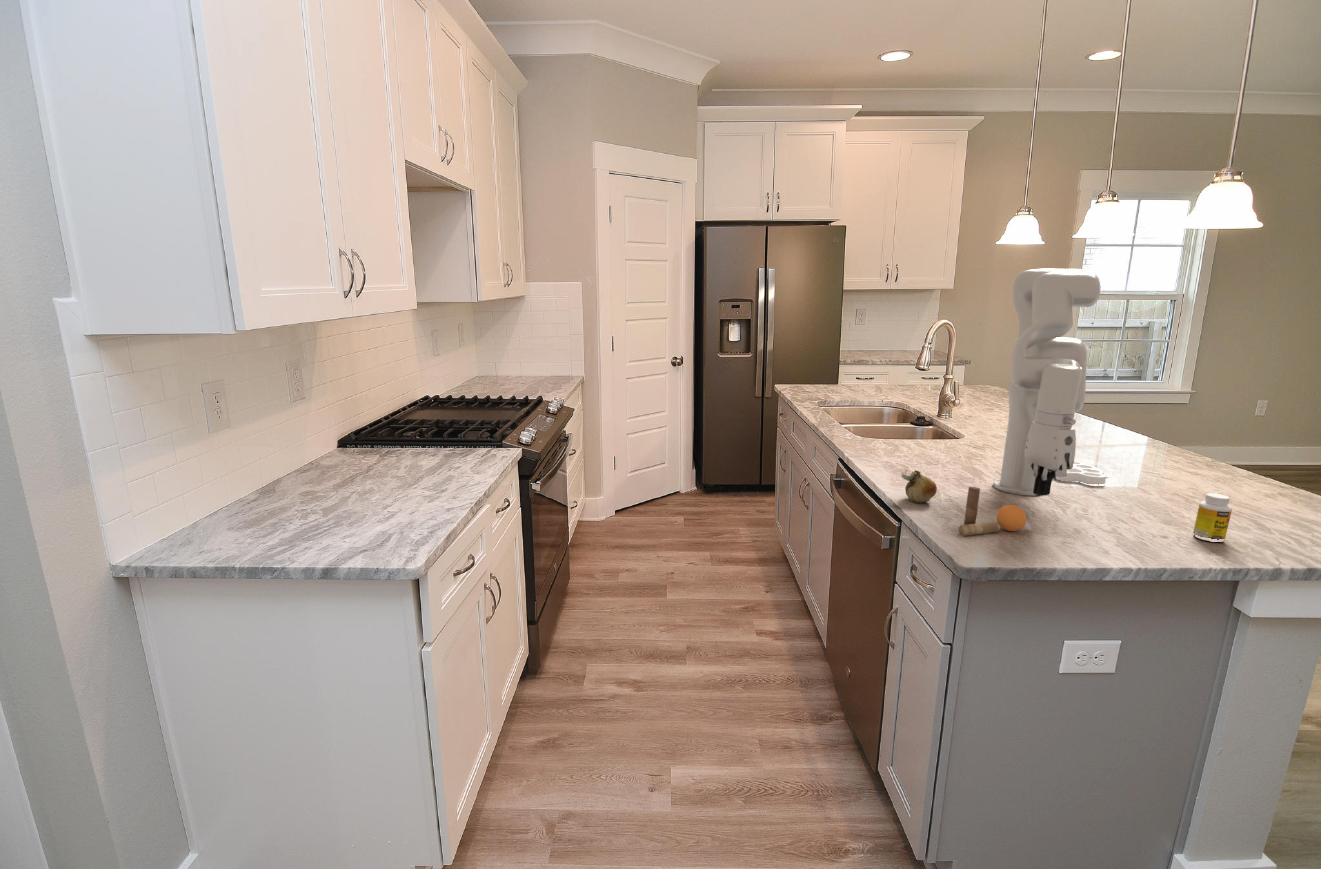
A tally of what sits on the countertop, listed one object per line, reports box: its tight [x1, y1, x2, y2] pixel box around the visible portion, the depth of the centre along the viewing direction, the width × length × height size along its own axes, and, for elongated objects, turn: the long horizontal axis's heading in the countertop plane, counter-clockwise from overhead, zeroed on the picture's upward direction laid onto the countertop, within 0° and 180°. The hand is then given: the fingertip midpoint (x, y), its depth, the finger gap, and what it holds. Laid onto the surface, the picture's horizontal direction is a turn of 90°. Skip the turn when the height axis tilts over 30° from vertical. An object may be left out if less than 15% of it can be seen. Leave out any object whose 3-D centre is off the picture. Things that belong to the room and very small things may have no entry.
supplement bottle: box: [1192, 492, 1233, 540], centre depth 144 cm, size 6×6×10 cm
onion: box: [901, 469, 938, 504], centre depth 167 cm, size 8×8×8 cm
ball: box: [996, 504, 1027, 532], centre depth 148 cm, size 6×6×6 cm
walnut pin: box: [963, 486, 981, 525], centre depth 150 cm, size 2×2×9 cm
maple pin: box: [958, 521, 1000, 537], centre depth 146 cm, size 2×2×9 cm
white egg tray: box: [1055, 460, 1109, 485], centre depth 191 cm, size 3×18×15 cm
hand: (1041, 493), depth 152 cm, fingers closed
